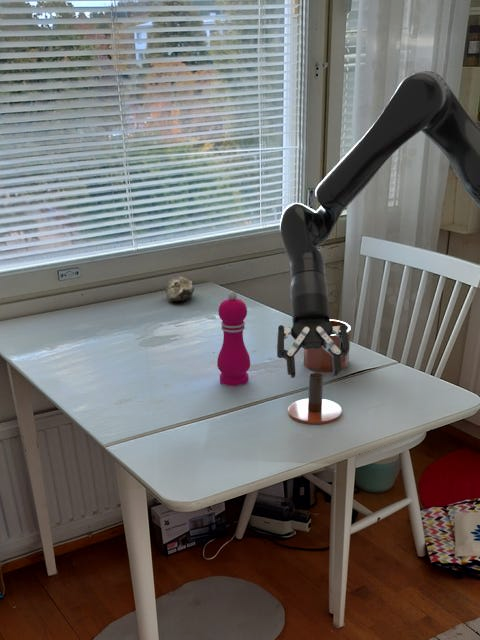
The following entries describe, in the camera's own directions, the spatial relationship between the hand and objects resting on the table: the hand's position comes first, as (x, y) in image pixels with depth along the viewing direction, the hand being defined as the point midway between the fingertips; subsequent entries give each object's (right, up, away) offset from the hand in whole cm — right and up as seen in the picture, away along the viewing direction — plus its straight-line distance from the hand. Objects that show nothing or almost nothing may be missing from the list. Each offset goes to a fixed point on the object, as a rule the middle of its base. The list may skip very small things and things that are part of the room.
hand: (314, 375), depth 156 cm
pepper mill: (-16, +2, +17) cm, 23 cm away
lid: (0, -7, +2) cm, 7 cm away
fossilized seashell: (-31, +35, +64) cm, 79 cm away
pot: (+5, +8, +24) cm, 26 cm away
